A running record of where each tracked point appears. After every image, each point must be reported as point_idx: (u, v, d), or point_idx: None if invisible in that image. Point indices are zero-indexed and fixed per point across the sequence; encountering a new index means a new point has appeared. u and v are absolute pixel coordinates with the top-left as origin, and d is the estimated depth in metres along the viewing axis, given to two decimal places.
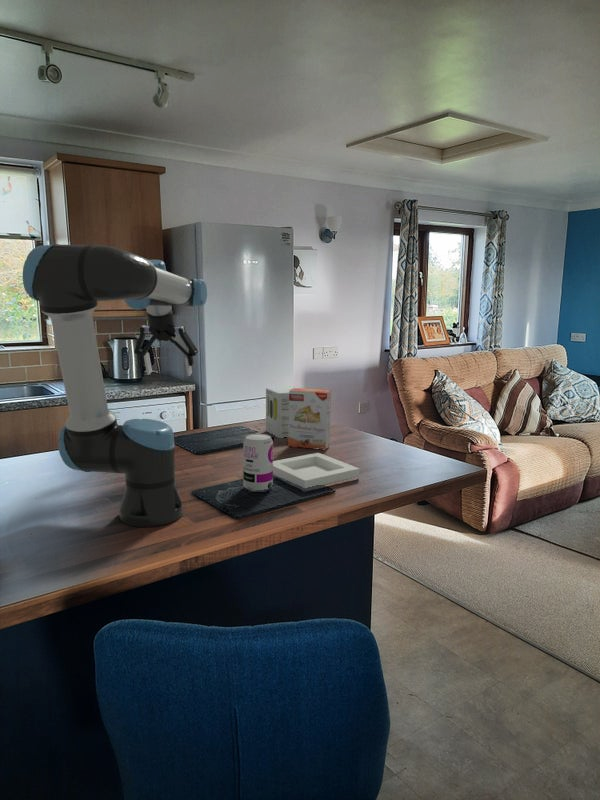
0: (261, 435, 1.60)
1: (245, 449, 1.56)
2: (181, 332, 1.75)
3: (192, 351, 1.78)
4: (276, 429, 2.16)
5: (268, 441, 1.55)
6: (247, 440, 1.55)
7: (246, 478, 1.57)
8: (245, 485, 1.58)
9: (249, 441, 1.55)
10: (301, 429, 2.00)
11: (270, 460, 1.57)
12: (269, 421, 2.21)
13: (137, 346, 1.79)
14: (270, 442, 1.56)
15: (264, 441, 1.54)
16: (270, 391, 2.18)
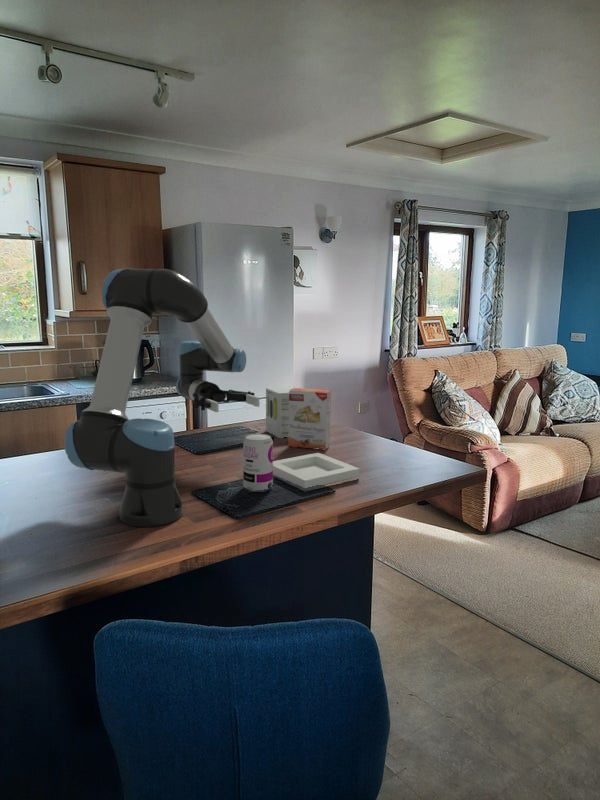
0: (261, 435, 1.60)
1: (245, 449, 1.56)
2: (232, 390, 1.80)
3: None
4: (276, 429, 2.16)
5: (268, 441, 1.55)
6: (247, 440, 1.55)
7: (246, 478, 1.57)
8: (245, 485, 1.58)
9: (249, 441, 1.55)
10: (301, 429, 2.00)
11: (270, 460, 1.57)
12: (269, 421, 2.21)
13: (195, 398, 1.67)
14: (270, 442, 1.56)
15: (264, 441, 1.54)
16: (270, 391, 2.18)
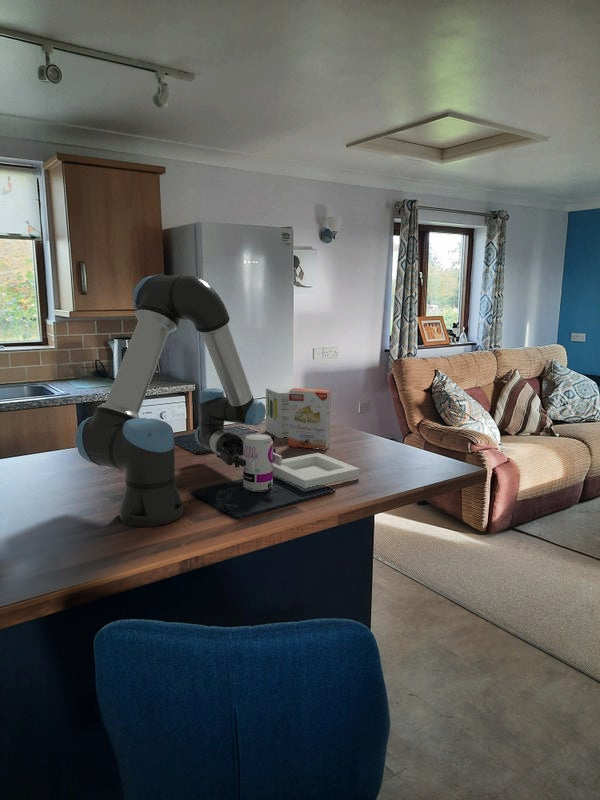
0: (261, 435, 1.60)
1: (245, 449, 1.56)
2: None
3: None
4: (276, 429, 2.16)
5: (268, 441, 1.55)
6: (247, 440, 1.55)
7: (245, 478, 1.57)
8: (245, 485, 1.58)
9: (249, 441, 1.55)
10: (301, 429, 2.00)
11: (270, 460, 1.56)
12: (269, 421, 2.21)
13: (227, 454, 1.58)
14: (270, 442, 1.56)
15: (264, 441, 1.54)
16: (270, 391, 2.18)
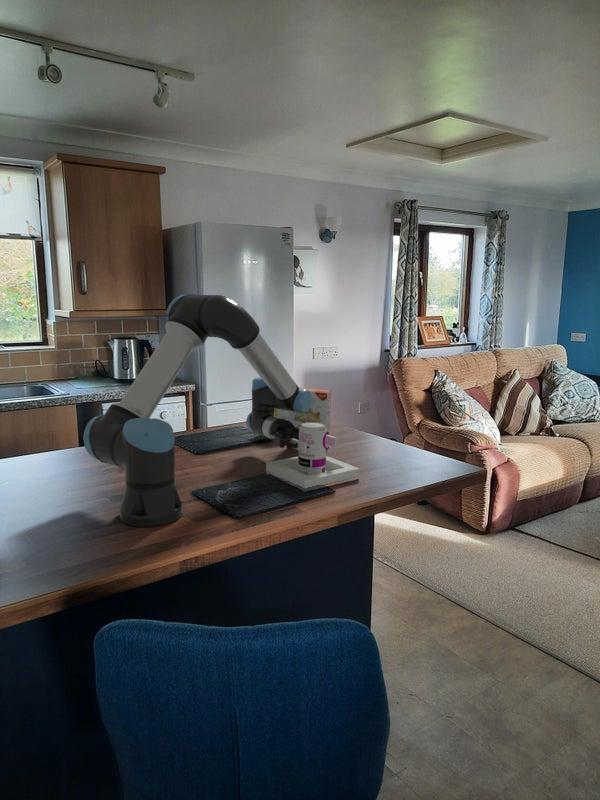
0: (315, 423, 1.71)
1: (301, 436, 1.66)
2: None
3: None
4: None
5: (323, 428, 1.66)
6: (303, 427, 1.66)
7: (301, 463, 1.68)
8: (300, 470, 1.68)
9: (305, 428, 1.66)
10: None
11: (324, 446, 1.67)
12: None
13: (279, 437, 1.69)
14: (324, 429, 1.67)
15: (319, 428, 1.65)
16: None
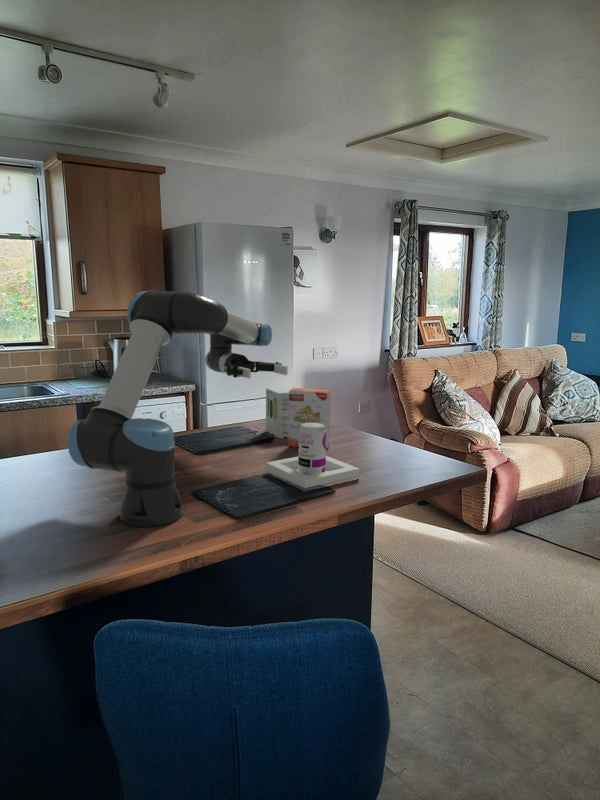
0: (315, 423, 1.70)
1: (301, 436, 1.66)
2: None
3: None
4: (276, 429, 2.16)
5: (323, 428, 1.66)
6: (303, 428, 1.66)
7: (301, 463, 1.68)
8: (300, 470, 1.68)
9: (305, 428, 1.65)
10: None
11: (324, 446, 1.67)
12: (269, 421, 2.21)
13: (228, 366, 1.78)
14: (324, 429, 1.67)
15: (319, 428, 1.65)
16: (270, 391, 2.18)
